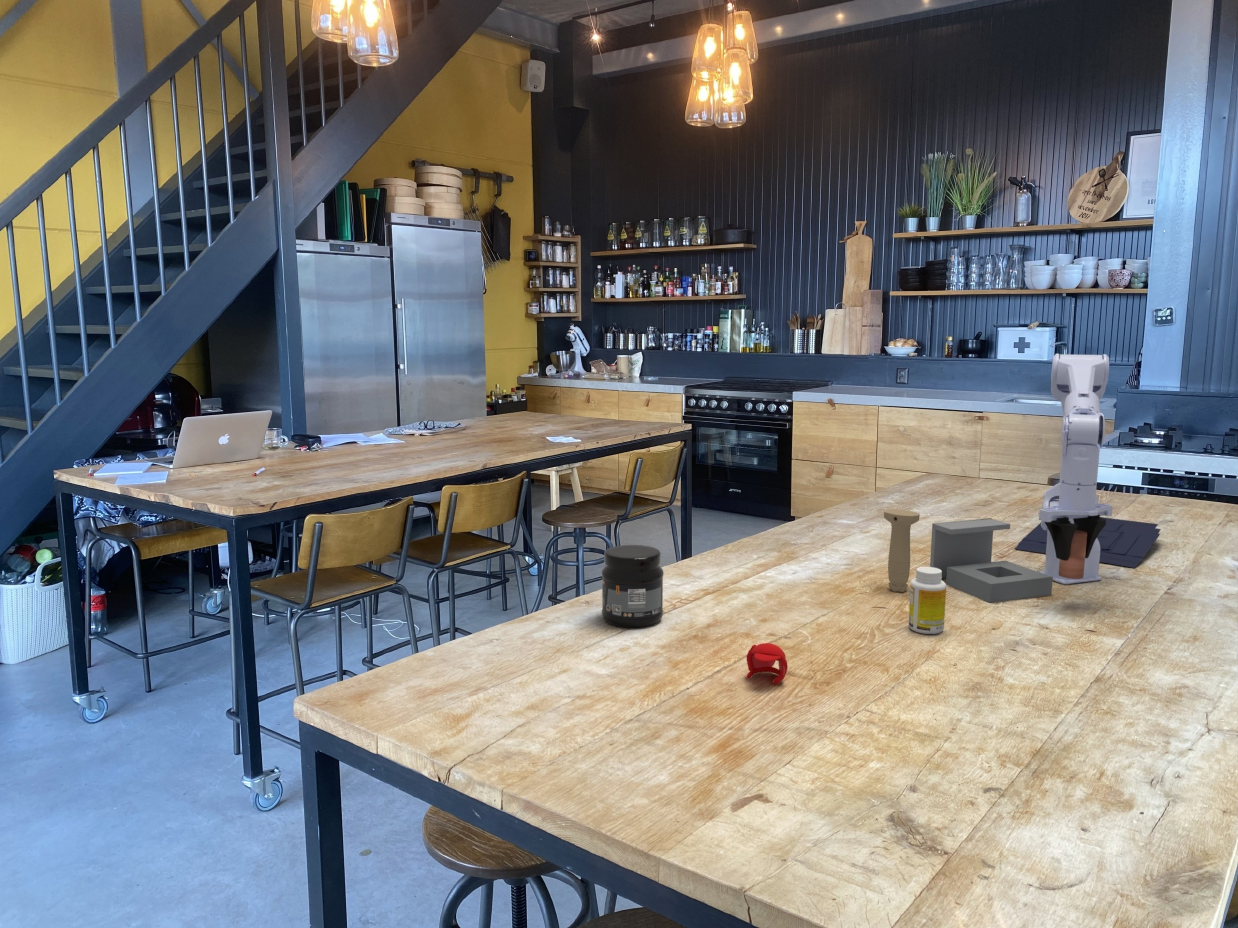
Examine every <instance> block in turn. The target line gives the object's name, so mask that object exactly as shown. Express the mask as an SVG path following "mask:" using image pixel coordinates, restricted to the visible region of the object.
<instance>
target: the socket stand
mask: <svg viewBox="0 0 1238 928" xmlns="http://www.w3.org/2000/svg"><path fill="white" fill-rule="evenodd" d="M931 525H932V526H931V538H930V539H931V543H930V556H929V557H930V561H929V567H934V568H938V569H940V570H941V571H942V579H946V580H945V584H946V586H949V587H951V588H953V589H956V590H958V591H961V592H963V593H965V594H968V595H970V596H972V597H975V598H978V599H979V600H982V601H985V602H987V603H989V604H990V603H991V604H992V603H1000V602H1006V601H1007V602H1008V601H1015V600H1023V599H1032V598H1037V597H1046V596H1047V597H1048V596H1052V594H1053V593H1052V591H1053V577H1052V576H1049V575H1046V574H1043V573H1040V572H1037V571H1038V570H1034V569H1032V568H1029V567H1025V566H1023V565H1020V564H1017V563H1014V562H1011V561H1008V560H1000V561H999V560H997V561H992V556H993V555H992V553H993V539H994V531H1003V530H1010V529H1011V523H1009V522H1006V521H1002V520H998V519H995V518H991V517H989V518H988V517H987V518H976V519H967V520H965V519H964V520H955V521H944V522H935V523H934V522H932V524H931Z"/></svg>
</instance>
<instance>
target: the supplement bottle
mask: <svg viewBox="0 0 1238 928" xmlns="http://www.w3.org/2000/svg"><path fill="white" fill-rule="evenodd" d="M942 579H943V578H942V571H941V570H940V569H938V568H934V567H930V566H921V567H917V568H916V571H915V578H913V579H912V580H911V581H910V588H909V589H910V590H909V592H910V593H909V609H908V627H909V628H910V629H911V630H912V631H913V632H915V633H919V634H923V635H924V634H925V635H937V634H940V633H942V632H943V631H944V629H945V617H946V598H947V597H946V596H947V585H946V582H944V581H943V580H942Z"/></svg>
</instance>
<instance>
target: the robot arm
mask: <svg viewBox="0 0 1238 928" xmlns="http://www.w3.org/2000/svg"><path fill="white" fill-rule="evenodd" d="M1050 373H1051V375H1050V376H1051V377H1050V378H1051V379H1050V383H1051V384H1050V385H1051V386H1050V393H1051V398H1053V399H1055V400H1057V401H1059V402H1060V403H1061V408H1062V412H1063V418H1062V421H1061V430H1060V432H1061V433H1060V441H1061V451H1060V453H1061V454H1060V455H1061V456H1060V469H1059V482H1058V483H1057V484H1054V485H1053V486H1051V487H1049V488H1047V489H1046V490H1045V492H1044V493H1043V498H1042V499H1043V500H1042V505H1041V508H1040V509H1039V512H1038V520H1039V521H1040V523H1041V527H1042V528H1043V530H1047V546H1046V553H1045V561H1044V569H1043V570H1036V571H1037V572H1040V573H1043V574H1046V575H1049V576H1052V577H1053V581H1054V582H1056V583H1059V584H1062V585H1069V584H1077V583H1085V582H1086V583H1087V582H1095V581H1101V580H1102V577H1101V576H1099V569H1100V562H1099V559H1100V544H1099V541H1098V539H1097V536H1098V535H1099V533H1100V531H1101V530H1102V529H1103V528H1104V526H1105V525H1106V520H1105V519H1102V518H1100V517H1101V516H1102V517H1112V516H1113V505H1112V504H1107V503H1105V502H1104V503H1102V502H1101V503H1099V497H1098V495H1097V488H1098V487H1097V485H1098V484H1097V483H1098V473H1099V462H1100V449H1102V447H1103V444H1104V441H1105V434H1106V420H1105V415H1104V413H1103V412H1101V403H1100V401H1101V400H1102V399H1103V396H1104V394H1105V393H1106V387H1107V384H1108V382H1109V373H1110V357H1109V355H1107V354H1105V353H1103V354H1060V353H1055V354H1054V355H1053V357H1052V363H1051V372H1050ZM1098 445H1099V446H1098ZM1099 447H1100V448H1099ZM1076 530H1081V531H1085V532H1087V542H1086V553H1085V565H1084V577H1083V578H1082V579H1069V578H1064V577H1061V576H1059V575H1058V574H1059V561H1060V559H1061V560H1064V561H1067V560H1068V559H1069V556H1070V550H1071V543H1072V539H1073V536H1074V533H1075V531H1076ZM1053 581H1052V582H1053Z"/></svg>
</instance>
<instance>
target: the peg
mask: <svg viewBox="0 0 1238 928" xmlns="http://www.w3.org/2000/svg"><path fill="white" fill-rule="evenodd" d="M1086 542H1087V532H1085V531H1081V530H1076V531H1075V533H1074V536H1073V539H1072V543H1071V550H1070V556H1069V559H1068V560H1067V561H1064V560H1061V559H1060V561H1059V574H1058V575H1059V576H1061V577H1064V578H1069V579H1082V578H1083V577H1084V565H1085V553H1086Z"/></svg>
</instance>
